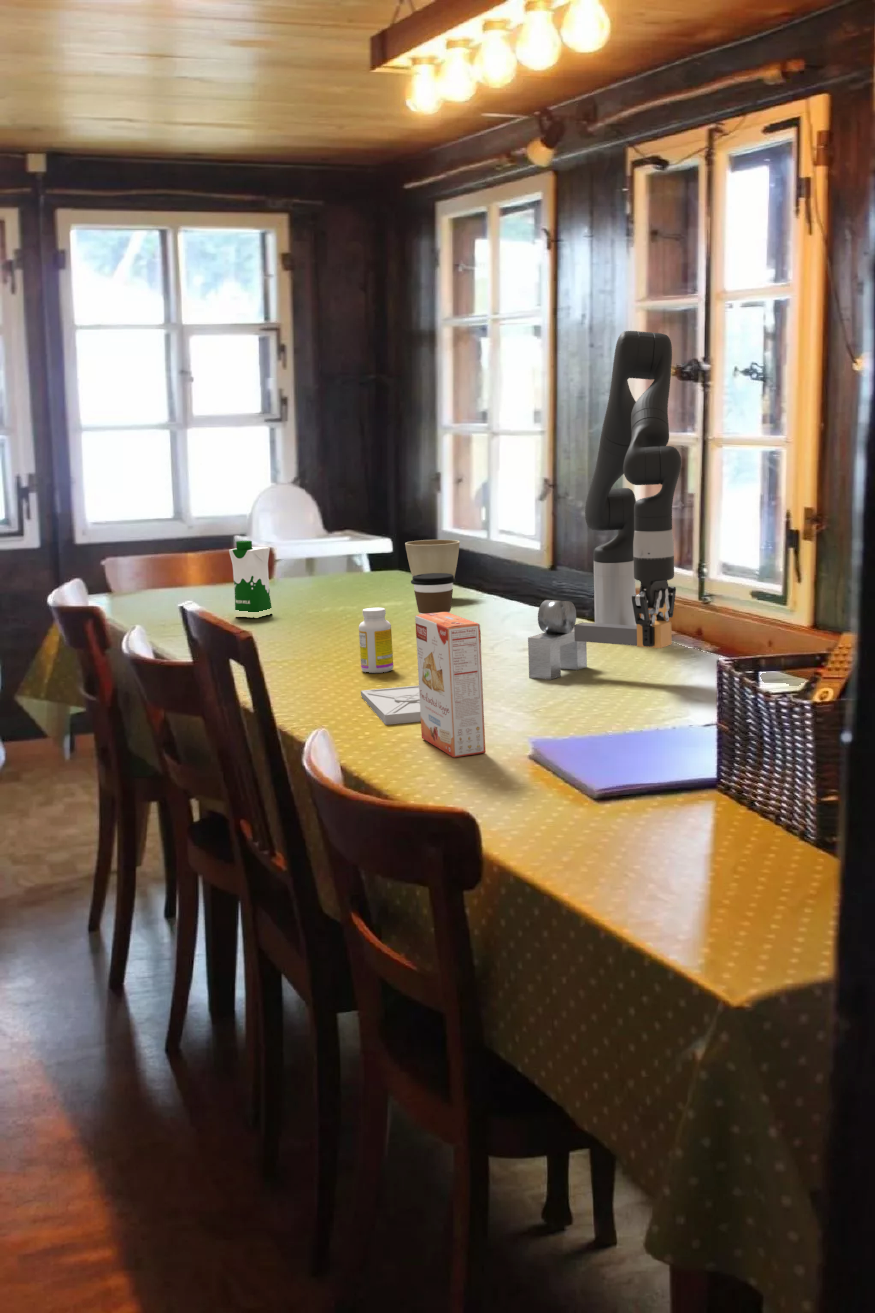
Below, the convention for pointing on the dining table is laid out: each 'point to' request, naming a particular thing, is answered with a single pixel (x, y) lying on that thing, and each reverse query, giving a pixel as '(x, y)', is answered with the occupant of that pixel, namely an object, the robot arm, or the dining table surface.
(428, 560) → the plant pot
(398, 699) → the envelope
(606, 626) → the plug
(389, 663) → the supplement bottle
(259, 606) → the milk carton
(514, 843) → the dining table surface
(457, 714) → the cracker box
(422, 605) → the coffee cup
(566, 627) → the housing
